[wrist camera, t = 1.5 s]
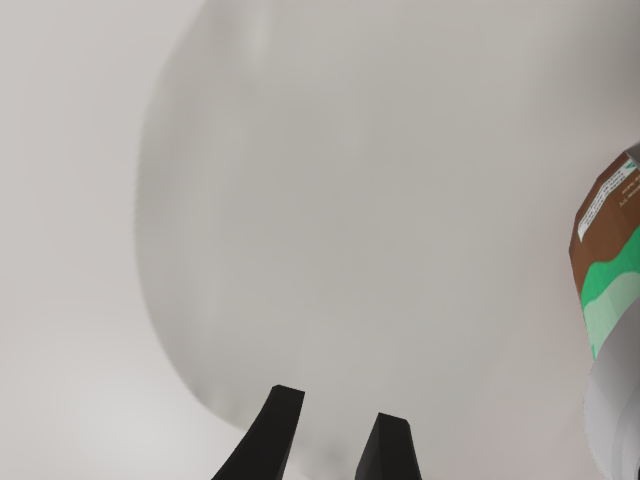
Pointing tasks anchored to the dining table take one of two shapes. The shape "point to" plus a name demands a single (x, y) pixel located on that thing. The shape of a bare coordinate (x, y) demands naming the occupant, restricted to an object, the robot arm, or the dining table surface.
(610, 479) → the food container
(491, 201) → the dining table surface
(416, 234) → the dining table surface
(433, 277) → the dining table surface
